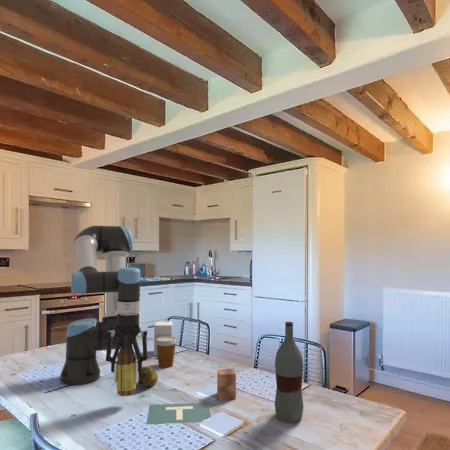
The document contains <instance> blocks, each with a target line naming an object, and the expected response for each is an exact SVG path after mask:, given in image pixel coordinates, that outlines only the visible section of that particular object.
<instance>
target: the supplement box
mask: <svg viewBox="0 0 450 450" xmlns="http://www.w3.org/2000/svg"><path fill="white" fill-rule="evenodd" d="M153 327H154V333H153V336H154V337H153V338H154V339H153V356H155V357H156V355H158V353H157V345H156V340H157V338H160V337H173V321H155V323H154V326H153Z"/></svg>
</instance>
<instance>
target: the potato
mask: <svg viewBox="0 0 450 450" xmlns="http://www.w3.org/2000/svg"><path fill="white" fill-rule="evenodd" d="M158 377H159V376H158V373H157V371H156V370H154V369H152V368H151V367H150V366H142V370H141V372H139V373H138V383H137V384H138V385H142V386H145V387H146V386H147V387H152V386H155V384H156V383H157V381H158V379H159V378H158Z"/></svg>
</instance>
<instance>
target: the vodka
mask: <svg viewBox="0 0 450 450" xmlns="http://www.w3.org/2000/svg"><path fill="white" fill-rule="evenodd" d="M284 324H285V328H284V329H285V330H284V331H285V332H284V333H285V334H284V336H285V337H284V340H283V342H282V343H281V345H280V346H279V348H278V349H277V351H276V354H275V360H274V361H275V362H274V367H275V382H276V388H275V389H276V390H275V398H274V409H275V410H274V411H275V415H276V418H277V419H278V420H279V419H280V420H279V421H281V420H282V421H281V422H283V421H285V423H288V422H295V423H298V422H300V421H301V420H302V419H303V413H304V399H303V391H302V389H303V388H302V386H303V375H304V373H303V372H304V360H303V354H302V351H301V350H300V349H299V347H298V345H297V344H296V341H295V340H294V322H293V321H285V323H284ZM297 421H298V422H297Z"/></svg>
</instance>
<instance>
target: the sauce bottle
mask: <svg viewBox="0 0 450 450" xmlns="http://www.w3.org/2000/svg"><path fill="white" fill-rule="evenodd" d="M130 339H131V338H130V336H129V335H124V337H123V340H122V343H121V349H120V350H119V352H118V355H117V358H116V361H117V382H116V390H117V395H118V396H122V397H127V396H128V397H129V396H132V395H134V394H135V393H136V387H137V383H135V373H136V361H137V357H136V353H135V350H134V347H133V344H132V342H131V341H130Z"/></svg>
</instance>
